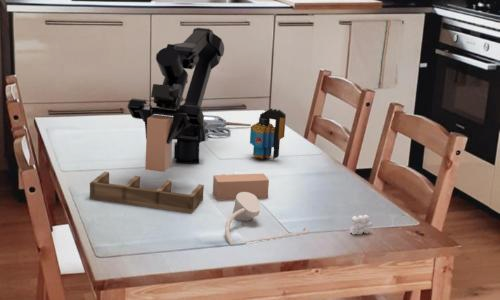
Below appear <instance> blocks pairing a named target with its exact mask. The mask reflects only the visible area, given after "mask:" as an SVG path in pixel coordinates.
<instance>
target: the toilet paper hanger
mask: <svg viewBox="0 0 500 300" xmlns="http://www.w3.org/2000/svg"><path fill="white" fill-rule="evenodd" d="M260 212H261V205H260V202H259V199H257V197H256V196H255V195H253V194H252V193H249V192H240V193H238V194H237V196H236V199H235V200H234V207H233V211H232V214H231V215H230V216H229V218H228V219H227V221H226V223H225V226H224V233H225V238H226V240H227V242H228V244H229V243H233V244H236V243H237V242H234V241H233V240H234V239H232V236H231V234H230V228H231V223H232V222H233V220H234V219H235V220H237V221H250V220H252V219H253V218H256V217H258V216H259V214H260ZM304 230H305V231H304ZM308 231H309V232H310V229H309V228H308V227H307V226H305V227H303V231H298V232H293V233H286V234H282V235H280V234H279V235H276V236H269V237H262V238H256V239H249V240H245V241H244V242H245V243H247V242H254V241H262V240H267V241H271V240H270V239H273V240H277V239H276V238H279V239H283V238H282V237H285V238H288V237H287V236H291V237H294V236H293V235H297V236H299V235H298V234H302V233H306V232H308ZM240 242H241V243H243V241H238V243H240ZM262 242H263V241H262Z"/></svg>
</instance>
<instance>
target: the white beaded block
mask: <svg viewBox="0 0 500 300" xmlns="http://www.w3.org/2000/svg"><path fill="white" fill-rule="evenodd" d="M351 221H352V222H353V226H351V227H350V230H349V233H350V234H351V233H352V235H353V236H355V235H354V234H357V235H362V234H361V233H363V232H364V233H363V234H365V233H367V234H369V232H370V228H371V227H373V223H372V222H371V216H370V215H367V214H363V215H361V214H359V215H358V216H357V215H356V216H355V215H353V216H352V217H351Z"/></svg>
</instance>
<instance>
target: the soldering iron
mask: <svg viewBox="0 0 500 300" xmlns="http://www.w3.org/2000/svg"><path fill="white" fill-rule="evenodd" d="M203 115H204V121H203V125H204V128H205V130H206V133H205V134H206V136H205V139H208V135H211V136H215V137H228V136H230V135H231V133H232V132H231V130H230V129H229V128H227V127H226V126H242V127H251V126H252V125H251V123H240V122H229V121H227V120H225V119H224V118H222V117H221V116H218V115H208V114H207V115H206V114H203ZM223 132H225V133H223Z"/></svg>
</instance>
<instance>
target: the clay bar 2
mask: <svg viewBox="0 0 500 300" xmlns="http://www.w3.org/2000/svg"><path fill="white" fill-rule="evenodd" d="M212 177H213V179H212V180H213V181H212V194H213V196H214V197H215V199H216V201H229V200H230V201H232V200H233V201H235V200H236V196H237V194H238V193H240V192H249V193H252V194H253V195H255V196H256V197H257V199H258V200H259V199H260V200H261V199H268V198H269V188H270V187H269V185H270V184H269V183H270V179H269V178H268V177H267V176H266V174H264V173H238V174H215V175H213V176H212Z"/></svg>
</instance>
